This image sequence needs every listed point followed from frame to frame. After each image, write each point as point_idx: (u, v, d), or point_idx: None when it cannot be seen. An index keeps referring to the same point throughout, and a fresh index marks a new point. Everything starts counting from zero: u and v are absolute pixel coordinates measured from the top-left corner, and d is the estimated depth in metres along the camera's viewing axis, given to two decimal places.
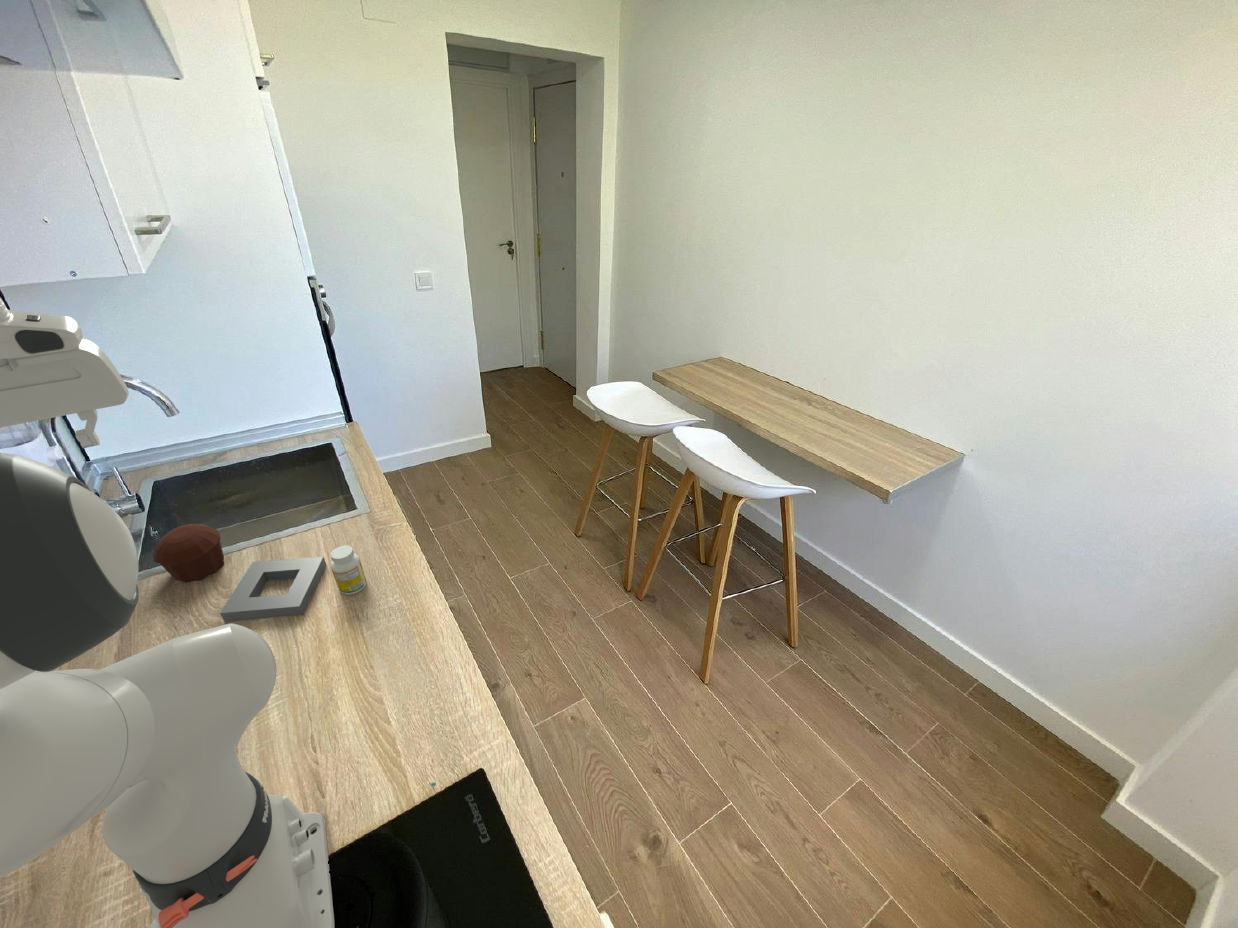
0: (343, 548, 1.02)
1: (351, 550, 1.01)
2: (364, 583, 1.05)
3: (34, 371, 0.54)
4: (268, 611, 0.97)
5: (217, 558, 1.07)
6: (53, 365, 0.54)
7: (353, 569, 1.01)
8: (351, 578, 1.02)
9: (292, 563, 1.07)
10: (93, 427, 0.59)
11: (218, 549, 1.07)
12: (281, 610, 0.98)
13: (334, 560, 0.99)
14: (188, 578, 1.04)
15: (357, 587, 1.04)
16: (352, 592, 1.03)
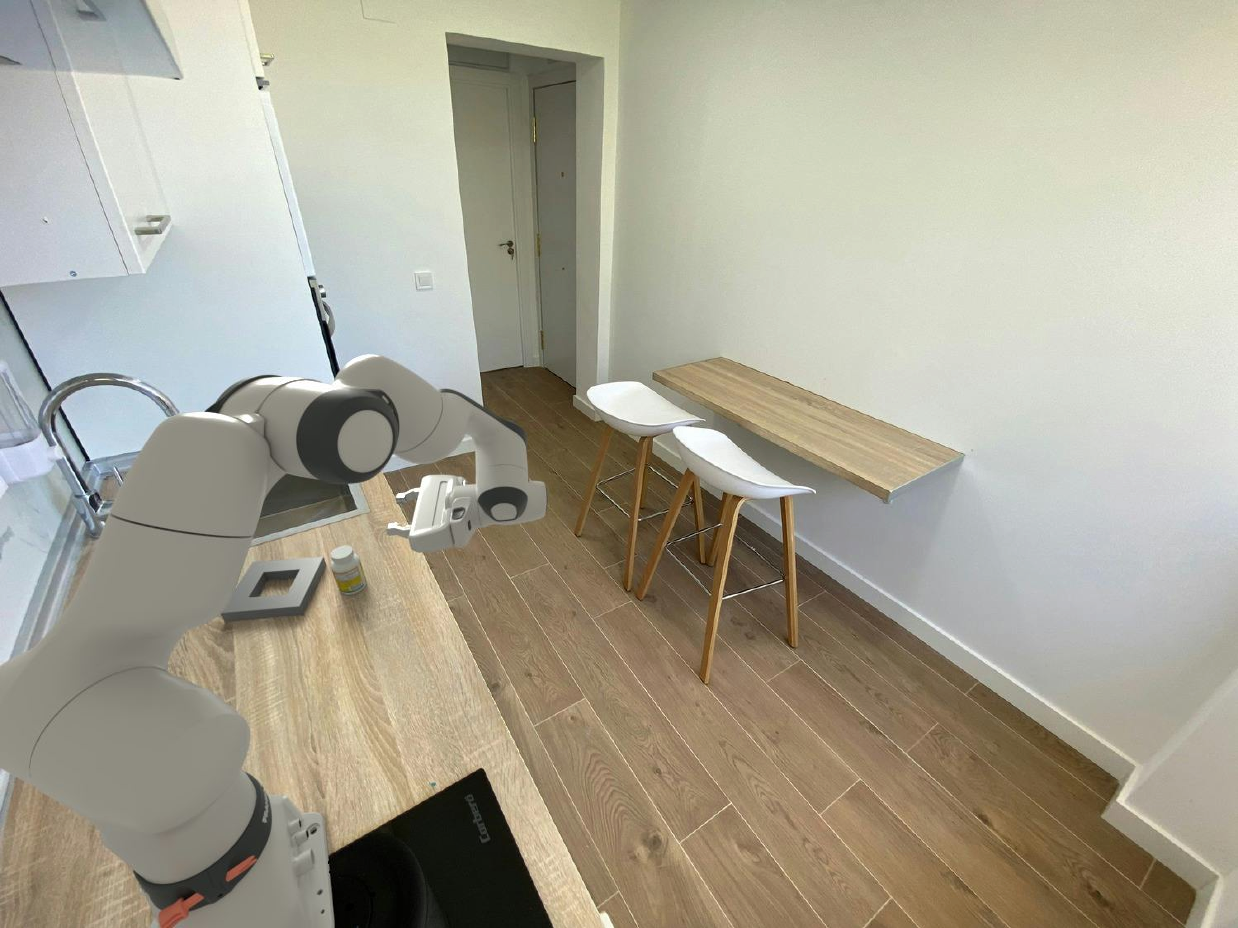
0: (343, 548, 1.02)
1: (351, 550, 1.01)
2: (364, 583, 1.05)
3: (441, 515, 0.95)
4: (268, 611, 0.97)
5: None
6: (442, 519, 0.94)
7: (353, 569, 1.01)
8: (351, 578, 1.02)
9: (292, 563, 1.07)
10: (398, 528, 0.93)
11: None
12: (281, 610, 0.98)
13: (334, 560, 0.99)
14: None
15: (357, 587, 1.04)
16: (352, 592, 1.03)
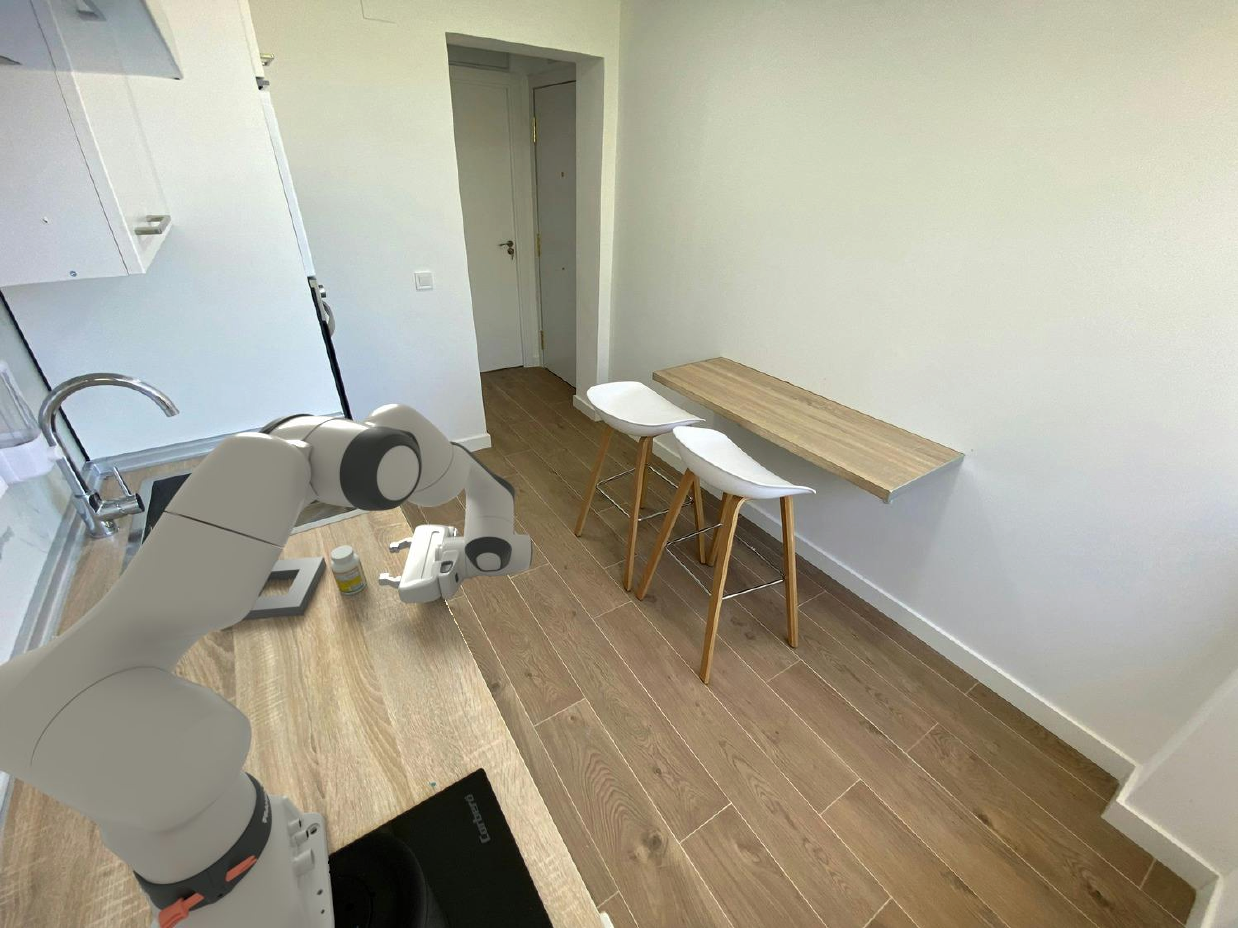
0: (343, 548, 1.02)
1: (351, 550, 1.01)
2: (364, 583, 1.05)
3: (430, 567, 1.01)
4: (268, 611, 0.97)
5: None
6: (431, 571, 1.00)
7: (353, 569, 1.01)
8: (351, 578, 1.02)
9: (292, 563, 1.07)
10: (390, 579, 0.99)
11: None
12: (281, 610, 0.98)
13: (334, 560, 0.99)
14: None
15: (357, 587, 1.04)
16: (352, 592, 1.03)
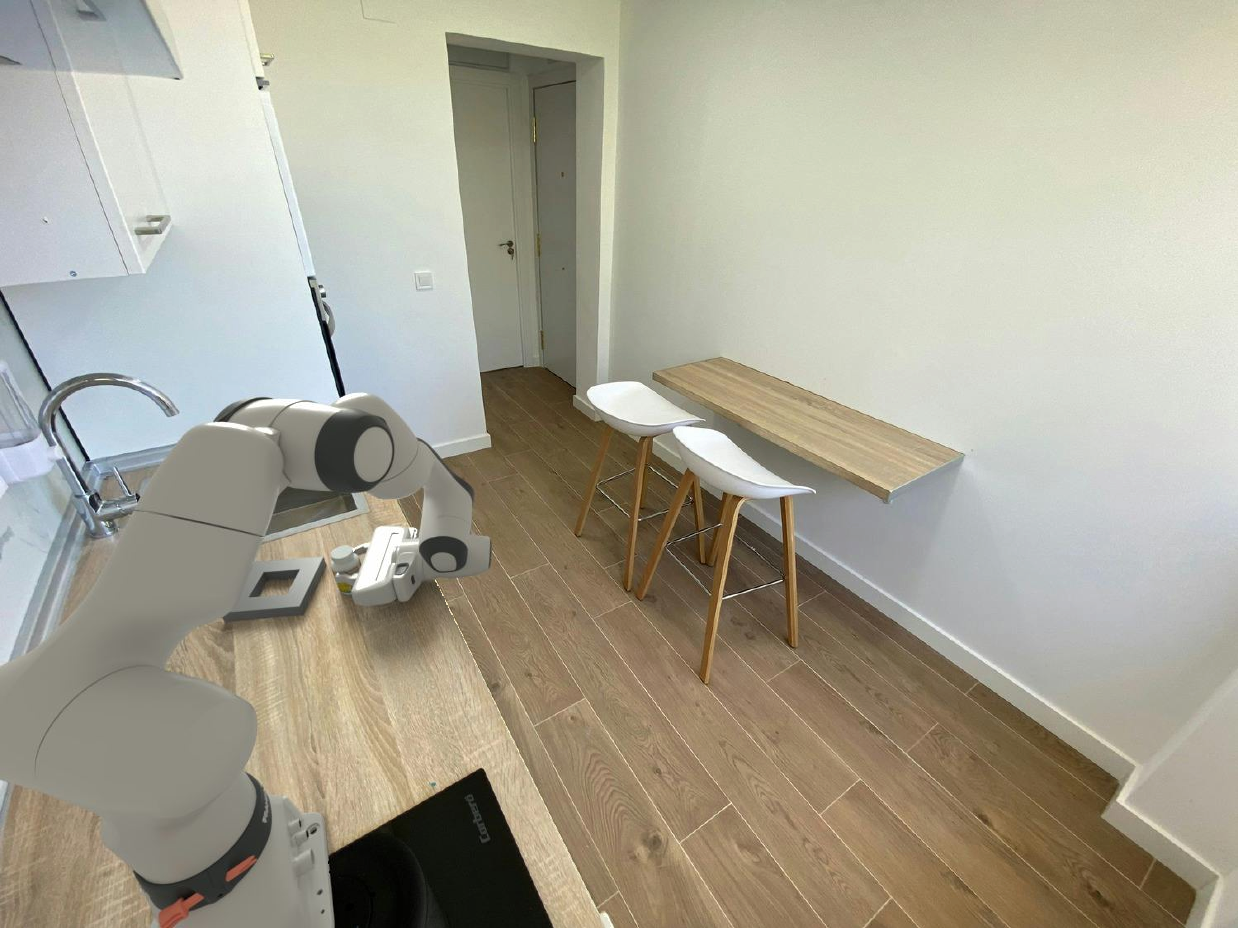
0: (343, 548, 1.02)
1: (351, 550, 1.01)
2: None
3: (386, 569, 1.00)
4: (268, 611, 0.97)
5: None
6: (387, 574, 0.98)
7: (353, 569, 1.01)
8: None
9: (292, 563, 1.07)
10: (346, 576, 0.99)
11: None
12: (281, 610, 0.98)
13: (334, 560, 0.99)
14: None
15: None
16: None
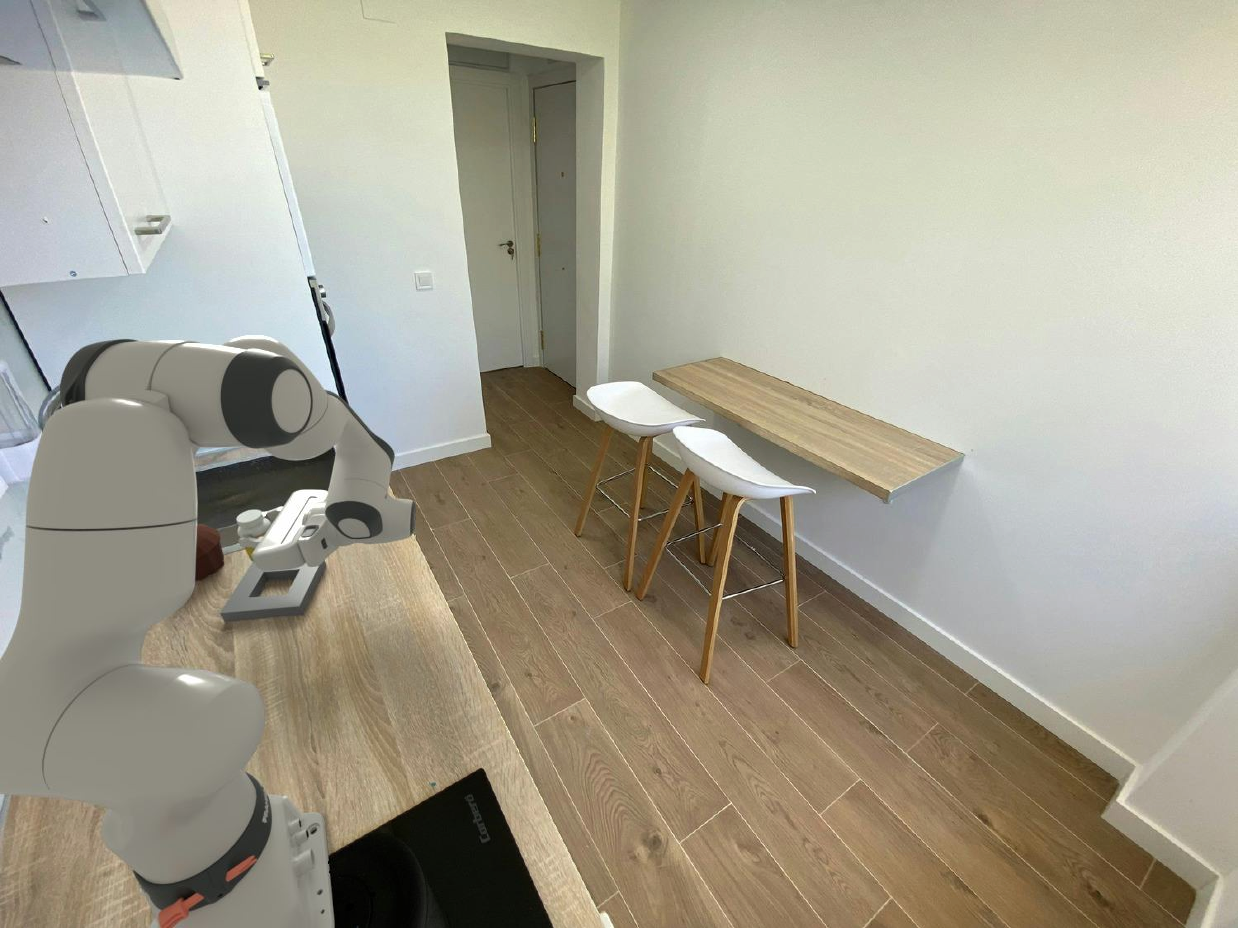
0: (252, 512, 0.94)
1: (260, 514, 0.94)
2: None
3: (295, 532, 0.92)
4: (268, 611, 0.97)
5: (217, 558, 1.07)
6: (294, 536, 0.91)
7: (262, 535, 0.94)
8: None
9: None
10: (251, 539, 0.91)
11: (218, 549, 1.07)
12: (281, 610, 0.98)
13: (240, 524, 0.92)
14: None
15: None
16: None
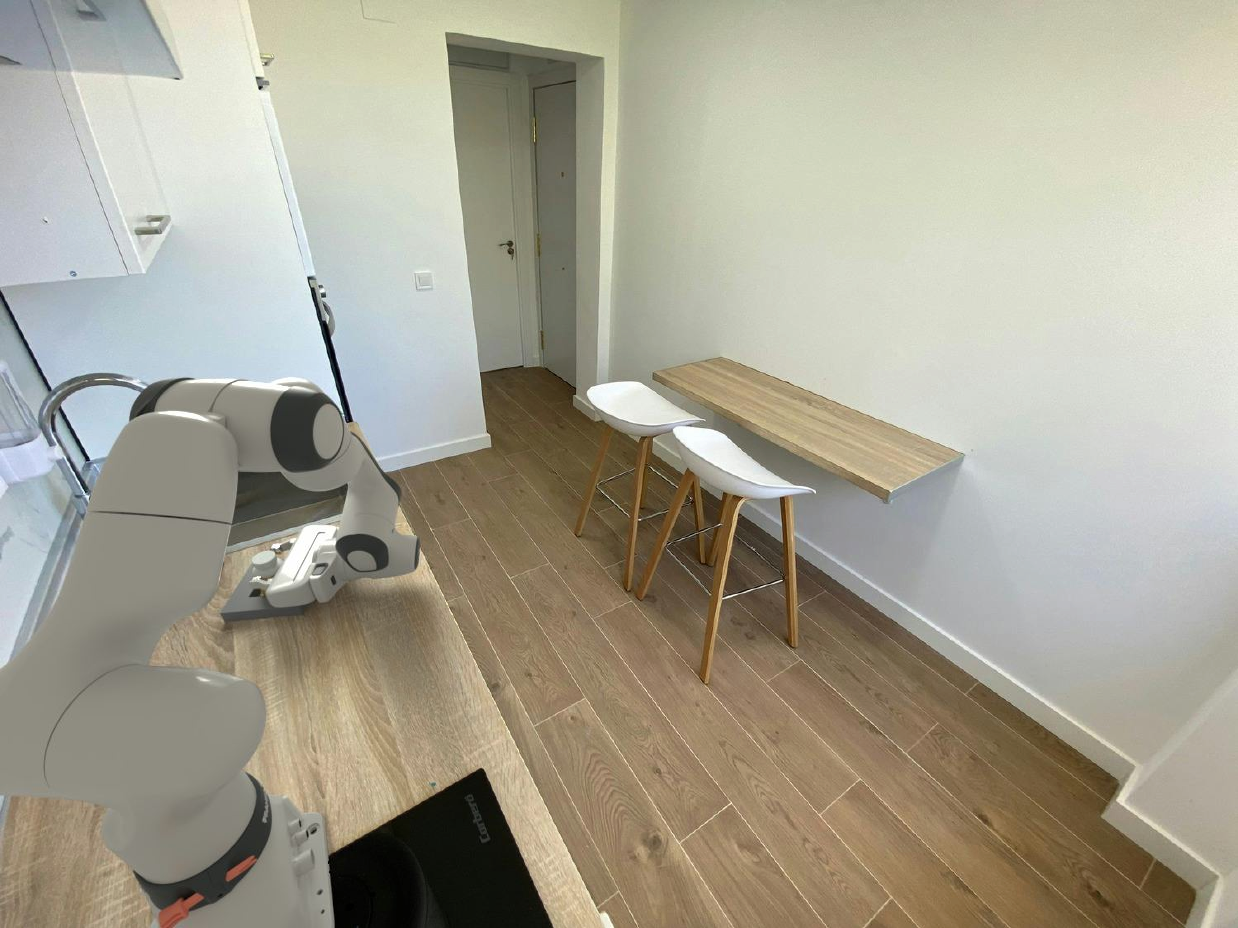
0: (266, 553, 1.00)
1: (274, 555, 0.99)
2: None
3: (306, 569, 0.97)
4: (268, 611, 0.97)
5: None
6: (305, 574, 0.96)
7: None
8: None
9: None
10: (260, 582, 0.95)
11: None
12: (281, 610, 0.98)
13: (255, 566, 0.97)
14: None
15: None
16: None
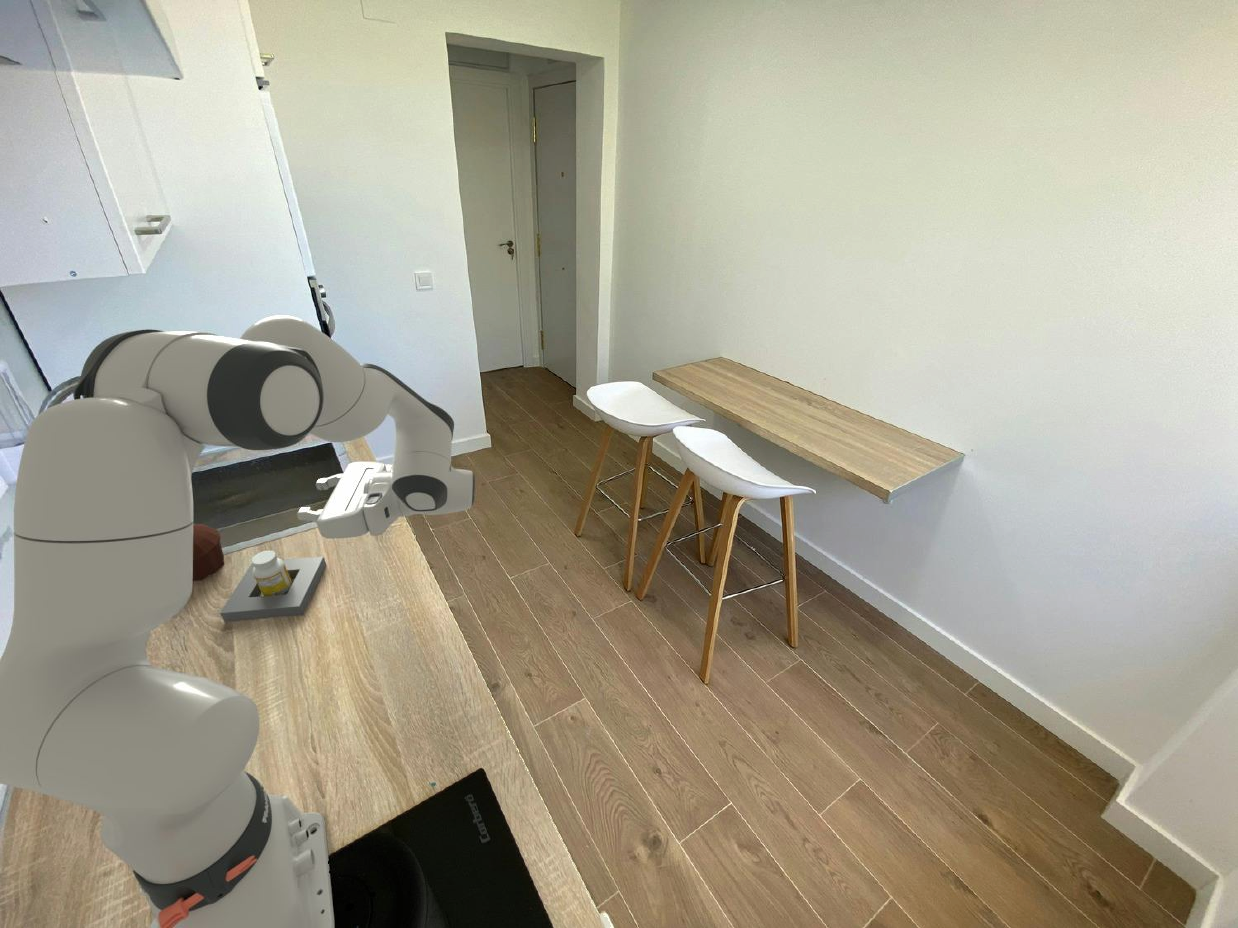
0: (266, 553, 1.00)
1: (274, 555, 0.99)
2: None
3: (358, 501, 0.90)
4: (268, 611, 0.97)
5: (217, 558, 1.07)
6: (357, 504, 0.89)
7: (276, 574, 0.99)
8: (275, 583, 1.00)
9: (292, 563, 1.07)
10: (310, 512, 0.88)
11: (218, 549, 1.07)
12: (281, 610, 0.98)
13: (255, 565, 0.97)
14: None
15: (282, 593, 1.02)
16: None
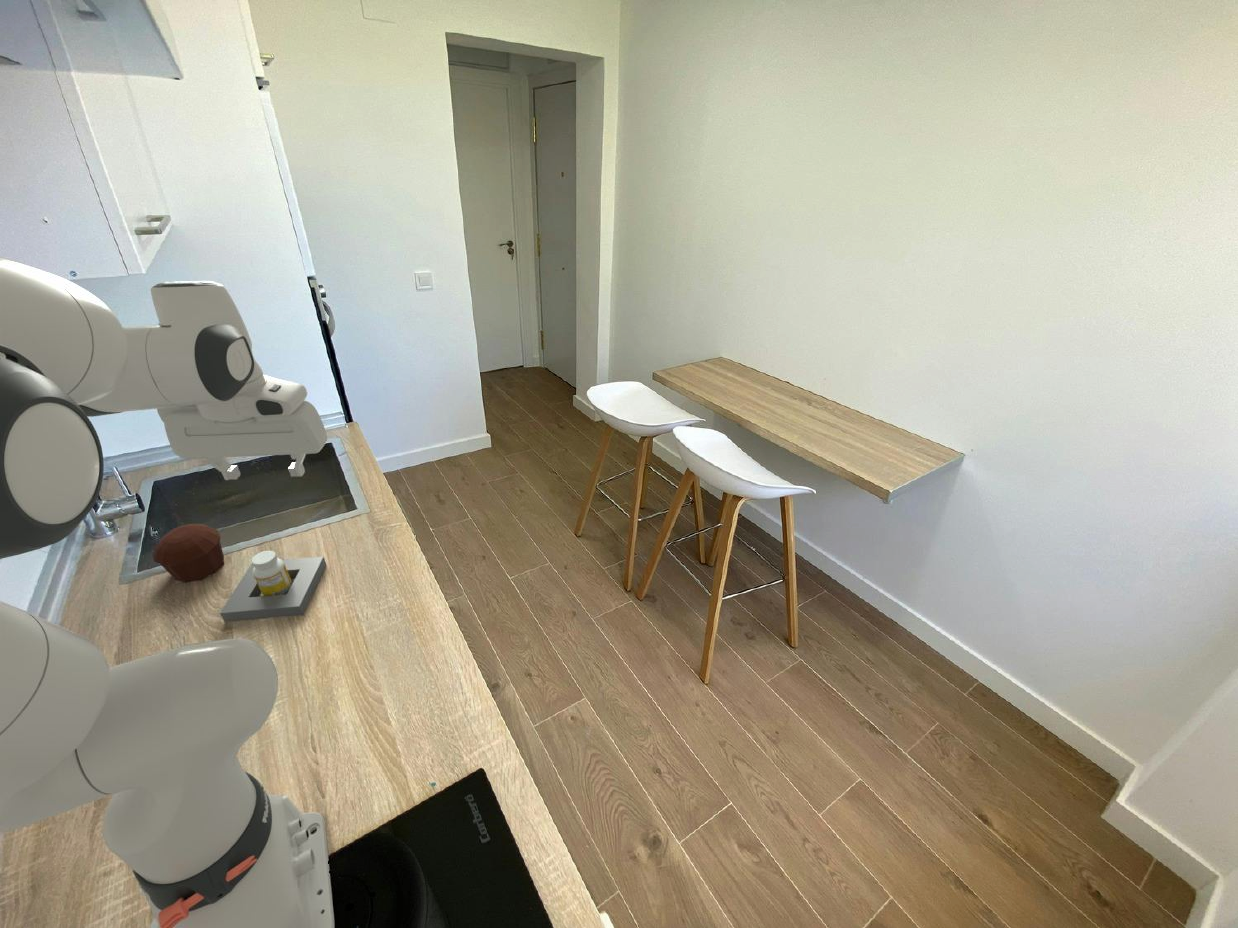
0: (266, 553, 1.00)
1: (274, 555, 0.99)
2: None
3: (268, 424, 0.74)
4: (268, 611, 0.97)
5: (217, 558, 1.07)
6: (278, 422, 0.73)
7: (276, 575, 0.99)
8: (275, 583, 1.00)
9: (292, 563, 1.07)
10: (298, 464, 0.78)
11: (218, 549, 1.07)
12: (281, 610, 0.98)
13: (255, 566, 0.97)
14: (188, 578, 1.04)
15: (282, 593, 1.02)
16: None
